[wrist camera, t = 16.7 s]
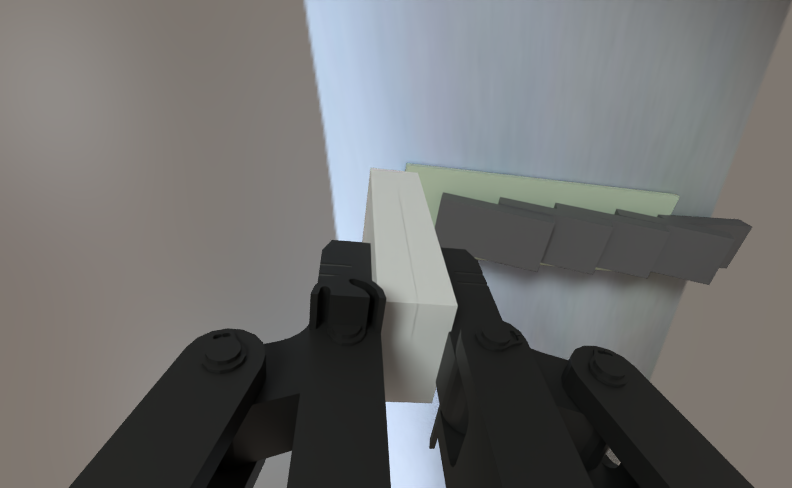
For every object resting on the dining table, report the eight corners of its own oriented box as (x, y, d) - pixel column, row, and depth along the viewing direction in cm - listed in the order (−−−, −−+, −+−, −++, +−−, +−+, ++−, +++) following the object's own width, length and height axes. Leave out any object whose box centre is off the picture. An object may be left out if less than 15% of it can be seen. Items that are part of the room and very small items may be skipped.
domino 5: (669, 221, 42) (752, 226, 44) (658, 214, 43) (739, 219, 45) (647, 265, 44) (726, 268, 46) (637, 257, 45) (714, 260, 48)
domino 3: (557, 209, 40) (670, 232, 39) (555, 202, 41) (664, 224, 40) (541, 255, 42) (647, 278, 41) (539, 247, 44) (642, 269, 43)
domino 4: (619, 214, 41) (735, 239, 39) (616, 208, 42) (728, 232, 41) (600, 259, 43) (709, 285, 42) (598, 252, 45) (703, 276, 43)
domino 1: (440, 198, 38) (554, 223, 37) (443, 192, 40) (552, 216, 39) (430, 246, 41) (537, 271, 40) (432, 239, 42) (535, 263, 41)
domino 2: (500, 203, 39) (613, 227, 38) (500, 196, 41) (609, 220, 40) (486, 250, 42) (592, 274, 41) (486, 242, 43) (589, 265, 42)
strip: (406, 162, 39) (407, 165, 38) (675, 194, 43) (679, 196, 42) (391, 249, 43) (392, 252, 43) (637, 270, 47) (640, 273, 47)
